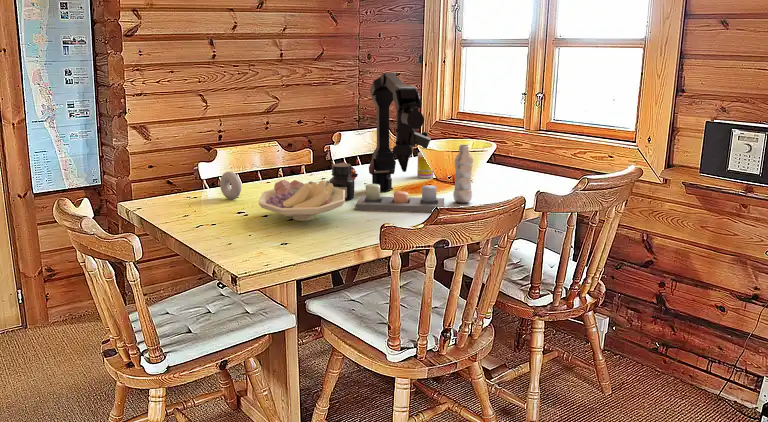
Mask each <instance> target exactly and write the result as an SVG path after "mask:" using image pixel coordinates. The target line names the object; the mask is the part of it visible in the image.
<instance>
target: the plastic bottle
mask: <svg viewBox="0 0 768 422" xmlns="http://www.w3.org/2000/svg"><path fill="white" fill-rule="evenodd" d="M470 148H471V147H470V145H469V144H459V145H458V151H459V152H458V153H457V155H456V156H455V158H454V168H455V181H454V182H455V183H454V190H453V195H452V197H453V200H454V202H457V203H461V204H464V203H470V202H471V201H472V197H473V193H472V192H473V191H472V181H471V180H472V179H471V178H472V170H473V164H474V159H473V156H472V155H471V154H470V150H471V149H470Z"/></svg>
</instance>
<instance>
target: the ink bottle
mask: <svg viewBox="0 0 768 422" xmlns="http://www.w3.org/2000/svg"><path fill="white" fill-rule="evenodd" d="M345 163H346V162H339V163H333V164H331V176H332V177H331V178H330V179H329V180H328V183H332V184H333V187H334V188H338V189H342V190H345V201H350V200H351V201H352V200H353V199H354V198H355V180H354V179H353V178H352V177H350V176H351V166H352V165H351V164H350V163H347V164H345Z"/></svg>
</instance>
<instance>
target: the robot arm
mask: <svg viewBox="0 0 768 422" xmlns="http://www.w3.org/2000/svg"><path fill="white" fill-rule="evenodd" d="M369 93H370V95H371V100H372V103H373V104H374V105H375V109H376V147H375V149H374V151H373V153H372V157H371V161H370V162H369V166H368V173H369V175H371V177H372V179H371V181H372V183H371V184H379V185H380V193H382V192H383V193H386V192H388V191H391V190H393V185H392V184H393V179H392V175H394V174H395V170H396V164H397V161H398V164H399V165H400V169H401V171H402V172H403V173H406V172H407V168H408V165H409V159H410V157H411V156H412V155H413V154H414V151H415V149H414V148H416V146H422V147H423V148H426V149H427V147H428V145H430V142H431V137H430V136H429V134H428V132H426V131H422V132H421V133H420V132H417V131H416V130H418V129H420V128H421V127H422V126H423V125H424V123H425V118H424V115H423V113H422V112H421V111H419V109H421V108H422V101H421V100H422V99H421V98H420V97H421V96H420V94H419V92H418V89H417V88H416V87H415V86H414V85H411V84H405V83H404V82H403V81H402V80H401V79H400V78H399V77H398V75H397V74H396V73H394V72H384V73H381V75H380V76H379V77H377V78H376V79H374V80H373V81H372V83H371V86H370V92H369ZM392 103H394V105H395V110H396V125H395V127H396V128H395V133H396V134H395V135H396V138H395V139H396V140H395V145H394V146H393V148H392V149H391V148H390V107H391V105H392ZM395 156H396V158H397V161H396V159H395Z"/></svg>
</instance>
